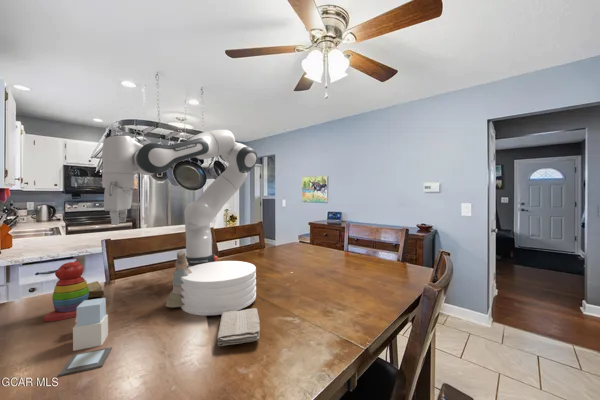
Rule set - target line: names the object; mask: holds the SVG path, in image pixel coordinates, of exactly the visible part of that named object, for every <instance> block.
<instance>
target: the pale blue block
mask: <svg viewBox="0 0 600 400" xmlns="http://www.w3.org/2000/svg"><path fill="white" fill-rule="evenodd" d="M106 299H107V298H106V297H101V298H94V299H93V298H92V299H88V300H85V301H83V302H82V303H81V304H80V305H79V306H78V307H77V326H83V325H89V324H96V323H100V322H101V321H102V319H103V318H104V317H105V315H106V314H107V312H106V311H107V308H106V307H107V306H106V305H107V303H106V302H107V300H106Z"/></svg>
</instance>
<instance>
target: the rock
mask: <svg viewBox="0 0 600 400" xmlns="http://www.w3.org/2000/svg"><path fill="white" fill-rule="evenodd" d="M87 285H88V288H89V296H88V299H90V298H96V297H104V296H105V292H104V289H103V286H102V285H101V284H100V282H99V281H93V282H90V283H89V282H88V283H87Z"/></svg>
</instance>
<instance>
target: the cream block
mask: <svg viewBox="0 0 600 400" xmlns="http://www.w3.org/2000/svg"><path fill="white" fill-rule="evenodd" d="M108 336H109V314H107V313H106V315H105V317H104V318H103V319H102V321H101V322H100V323H96V324H89V325H83V326H77V324H76V325H74V326H73V327H72V351H79V350H80V351H81V350H85V349H89V348H96V347H100V346H102V345H103V344H104V342H105V340H106V339H107V337H108Z"/></svg>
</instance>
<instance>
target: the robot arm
mask: <svg viewBox="0 0 600 400" xmlns="http://www.w3.org/2000/svg"><path fill="white" fill-rule="evenodd" d="M101 152H102V154H101V161H102V164H103V169H102V172H101V173H102V175H101V176H102V188H103V189H104V193H103V208H104V211H105V212H109V217H110V220H111V221H110V222H111V225H112V226H118V225H119V224H120V223H126V222H127V214H128V210H130V209H131V208H132V204H133V192H134V190H135V174H140V175H144V176H151V175H159V174H162V173H165V172H167V171H168V170H169V169H171V167H172V166H173V165H175V164H176V163H179V162H182V161H185V160H189V159H192V158H196V159H199V160H207V159H212V158H216V157H219V158H220V159H221V160H222V161H223V162H224V163H225V162H226V163H228V165H227V167H226V168H225V170H224V171H223V172H222V173H220V174H219V175H218V176H217V178H215V179H214V180H213V181H212V182H211V183H210V184H209V185H208V186H207V188H206V189H205V190H204V191H203V192H202V194H201V195H200V196H199V197H198V198H197V199H195V200H194V201H192V202H190V203H188V204H187V206H185V209H184V227H185V228H184V229H185V255H186V259H187V262H188V266H187V268H189V267H192V266H195V265H199V264H204V263H209V262H218V261H219V257H218V256H217V255H215V254H213V240H212V232H211V224H210V223H212V221H213V220H214V219H215V217H216V216H217V215H218V214H219V212H221V210H222V208H223V207H224V205H226V203H227V202H228V201H229V200H230V199H231V198H232V197H233V196H234V195H235V194H236V193H237V191H238V190H239V189H240V188H241V187H242V186H243V185H244V183H245V181H246V179H247V178H248V173H249V172H251V170H252V169H253V168H254V167H255V165H256V164H257V162H258V154H257V152H256V151H255V149H253V148H252V147H250V146H247V145H246V144H243V143H241V142H236V138H235V135H234V134H233V133H232V131H230V130H229V129H212V130H208V131H203V132H200V133H198V134H195V135H193V136H192V137H191V138H189V140H185V141H181V142H177V143H173V144H172V143H171V144H162V143H157V142H155V143H154V142H152V143H147V144H145V145H143V144H141V143H139V142H137V140H135V139H134V138H132V136H129V135H126V134H114V135H110V136H107V137H105V139H104V140H103V144H102V151H101Z"/></svg>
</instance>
